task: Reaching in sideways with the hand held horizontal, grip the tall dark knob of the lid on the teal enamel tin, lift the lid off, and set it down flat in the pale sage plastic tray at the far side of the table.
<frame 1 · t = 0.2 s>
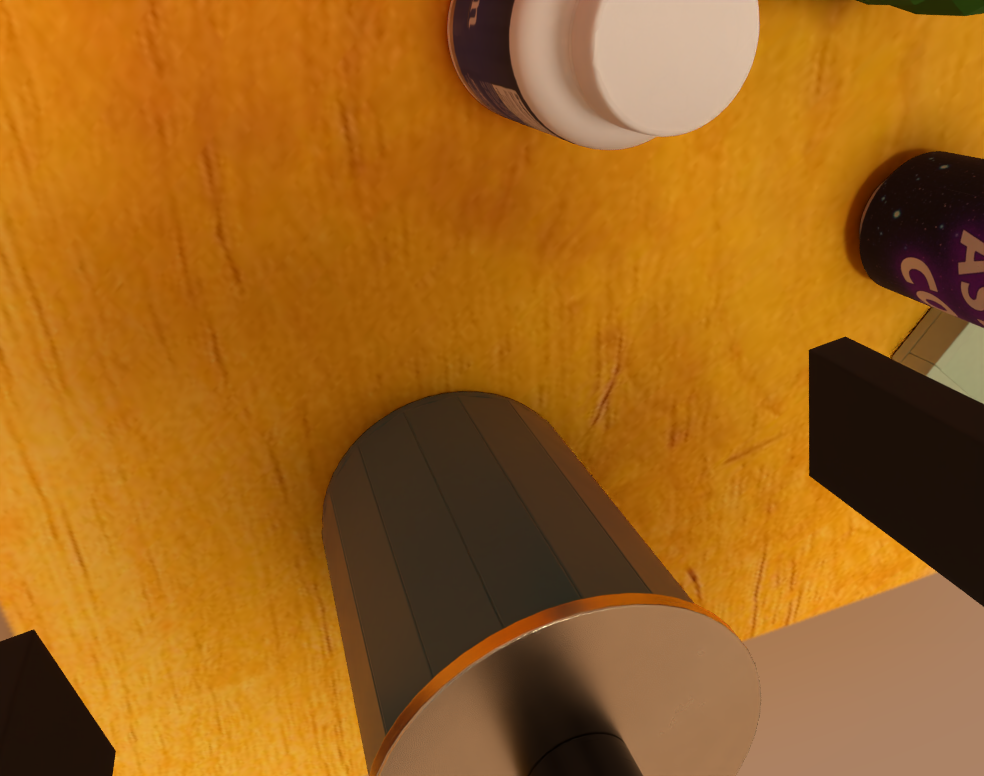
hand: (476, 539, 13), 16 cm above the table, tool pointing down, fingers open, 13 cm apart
pill bottle: (522, 30, 25), on the table
beverage can: (897, 216, 33), on the table
tin: (451, 506, 32), on the table
lid: (570, 759, 21), point 12 cm above the table, touching tin
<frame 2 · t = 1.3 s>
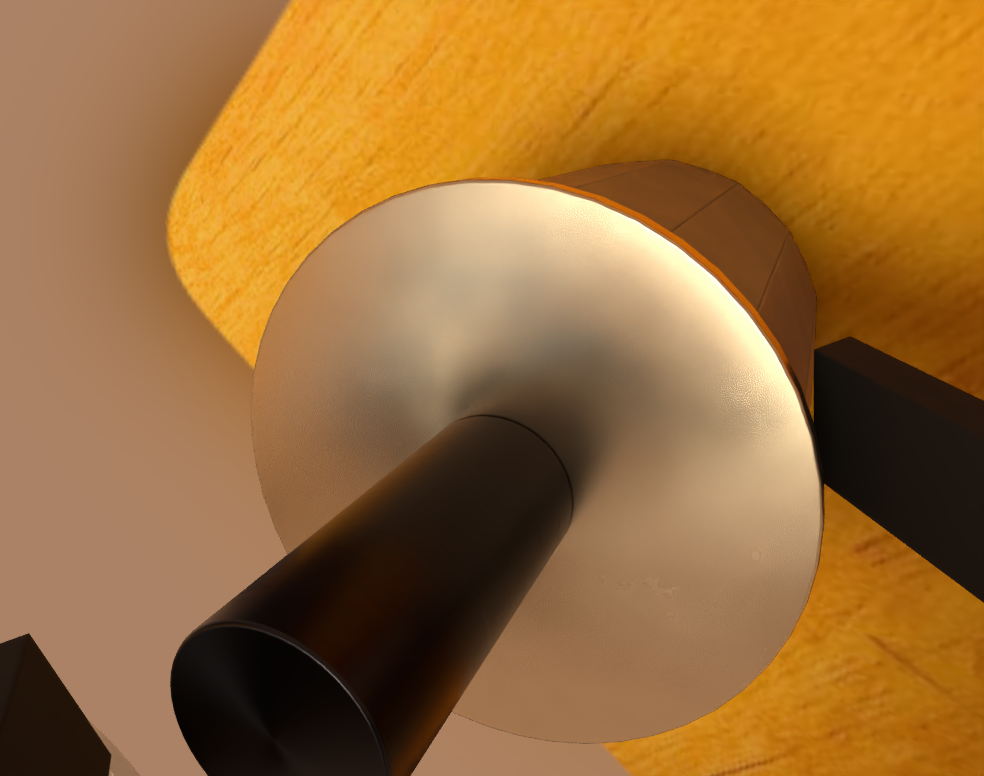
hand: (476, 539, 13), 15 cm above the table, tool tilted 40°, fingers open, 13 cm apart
tin: (646, 323, 26), on the table
lid: (505, 479, 15), point 12 cm above the table, touching tin
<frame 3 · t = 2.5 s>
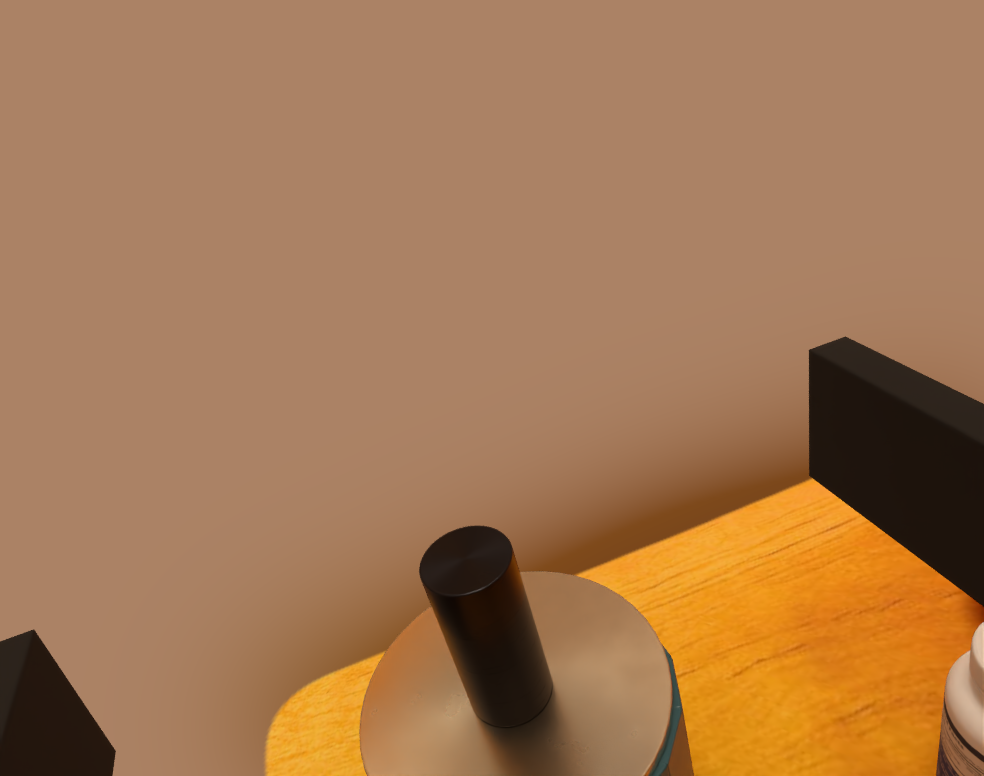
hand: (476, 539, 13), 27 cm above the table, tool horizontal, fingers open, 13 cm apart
lid: (513, 697, 28), point 12 cm above the table, touching tin
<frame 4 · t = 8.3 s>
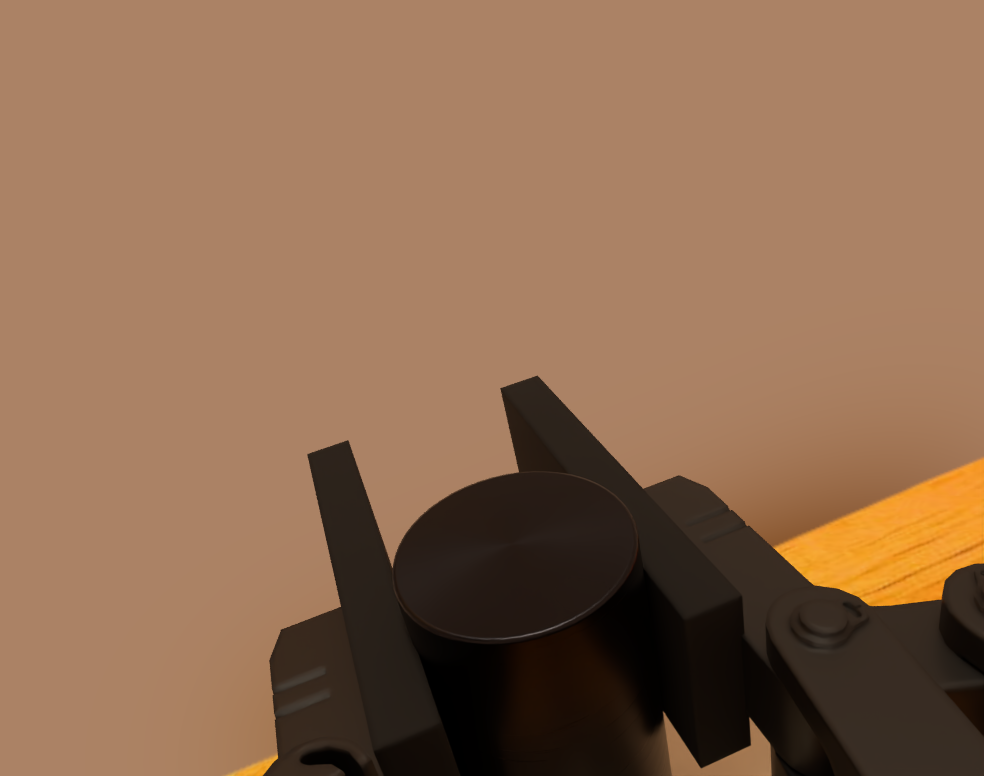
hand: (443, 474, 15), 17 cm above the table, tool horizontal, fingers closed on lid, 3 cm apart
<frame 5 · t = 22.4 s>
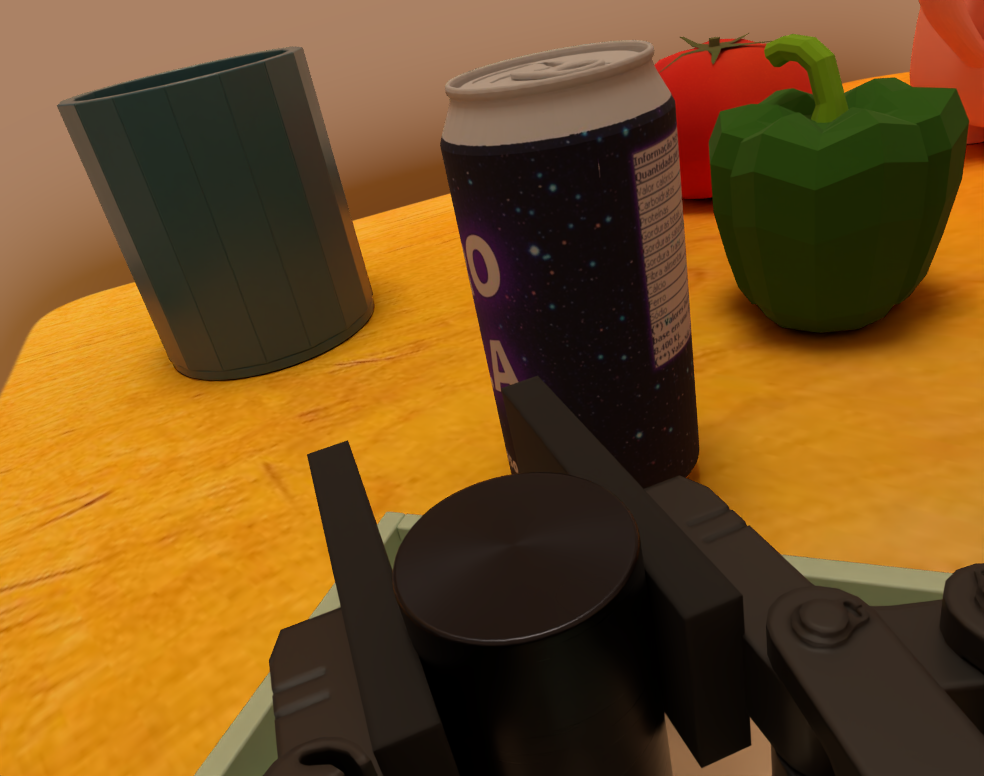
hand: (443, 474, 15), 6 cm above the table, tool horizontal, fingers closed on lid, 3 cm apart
beverage can: (606, 480, 24), on the table
tin: (275, 329, 40), on the table
tomato: (722, 192, 46), on the table
bell pepper: (827, 309, 31), on the table
when the fingers open (6 cm above the table, at t = 22.8 s): lid stays where it is, resting on tray.
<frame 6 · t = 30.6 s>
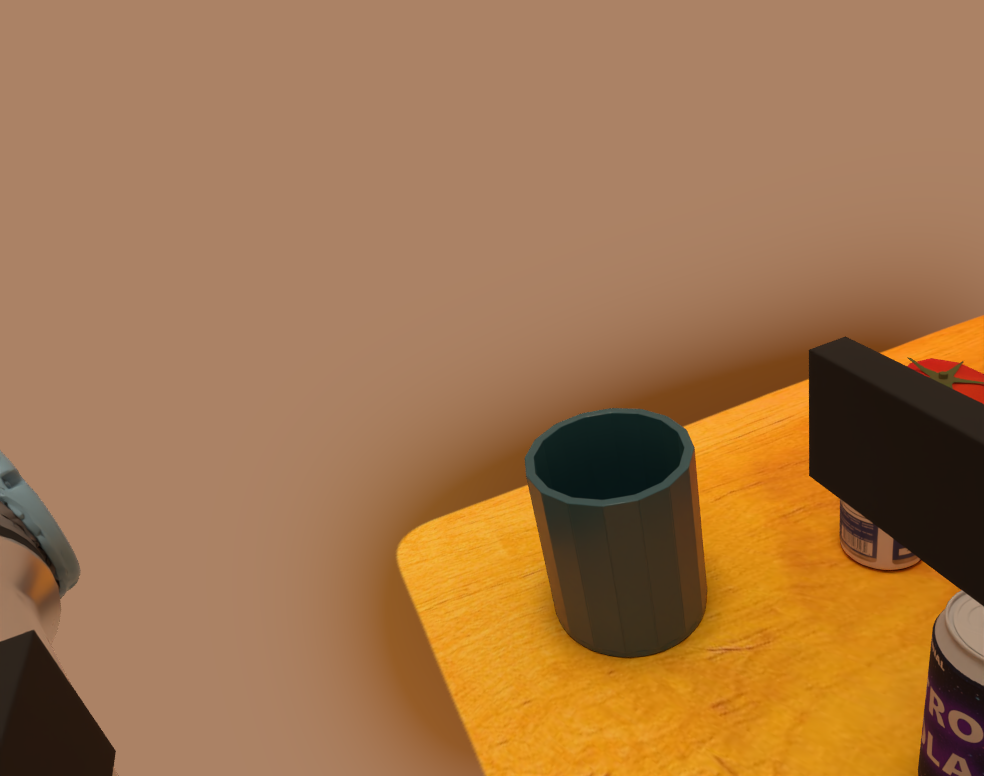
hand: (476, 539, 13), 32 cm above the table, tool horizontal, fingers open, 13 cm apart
pill bottle: (881, 547, 54), on the table
tin: (629, 598, 54), on the table
tomato: (935, 466, 60), on the table
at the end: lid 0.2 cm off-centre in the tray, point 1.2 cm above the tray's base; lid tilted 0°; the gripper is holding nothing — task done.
